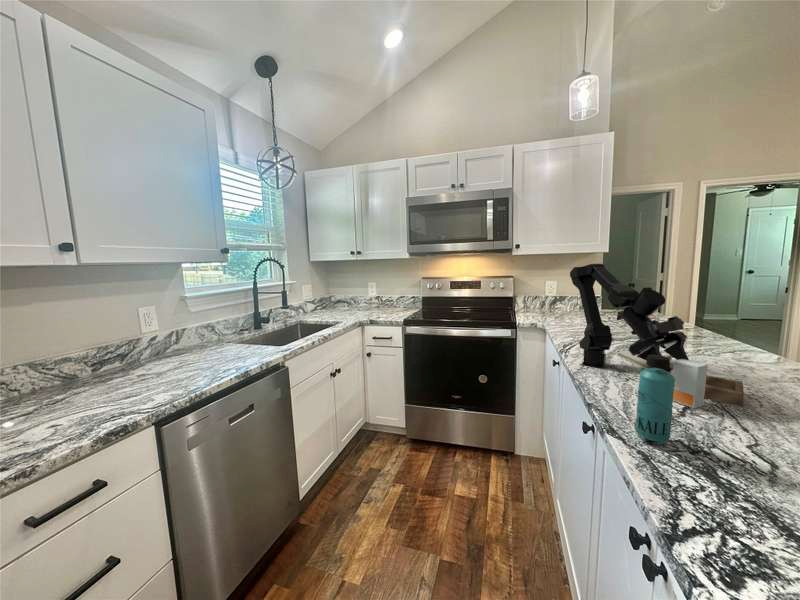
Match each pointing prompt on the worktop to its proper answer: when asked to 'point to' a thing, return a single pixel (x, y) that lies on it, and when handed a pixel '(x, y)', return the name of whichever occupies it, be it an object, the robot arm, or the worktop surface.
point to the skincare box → (689, 382)
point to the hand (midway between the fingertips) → (679, 368)
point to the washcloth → (638, 359)
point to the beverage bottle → (655, 400)
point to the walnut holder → (724, 390)
